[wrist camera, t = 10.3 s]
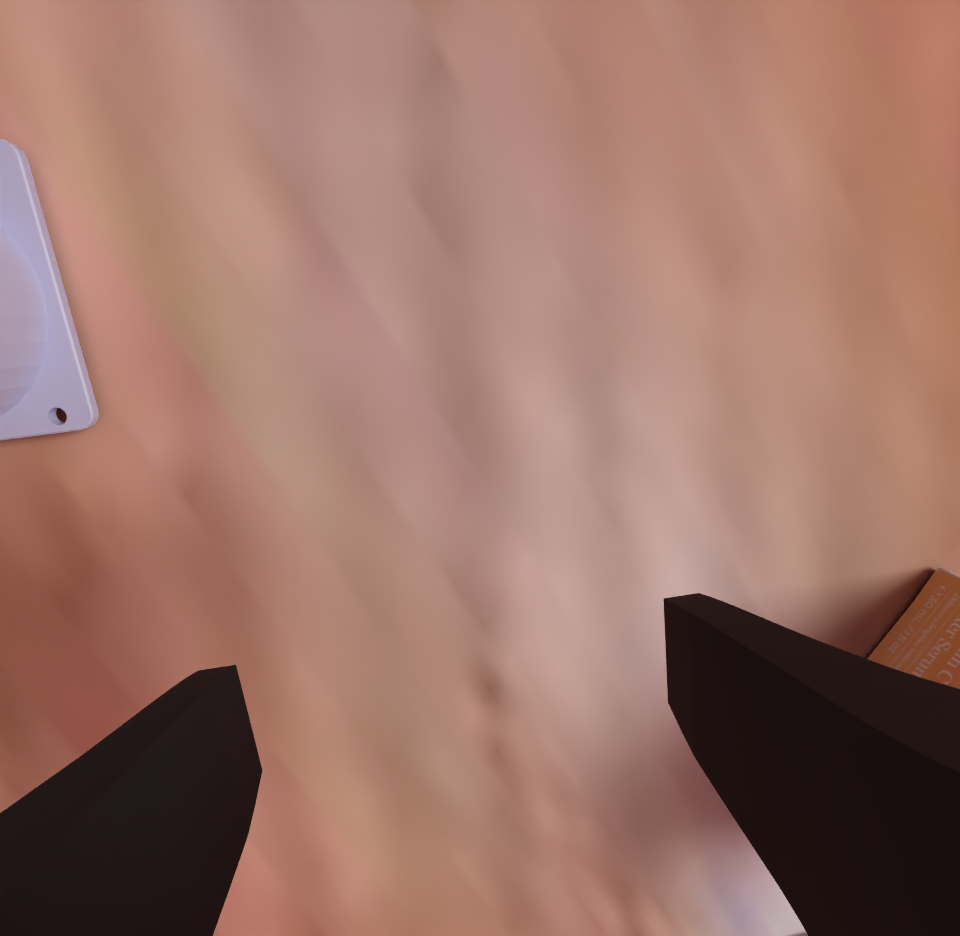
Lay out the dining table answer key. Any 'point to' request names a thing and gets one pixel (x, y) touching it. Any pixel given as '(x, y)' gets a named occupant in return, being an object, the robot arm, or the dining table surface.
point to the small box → (927, 633)
